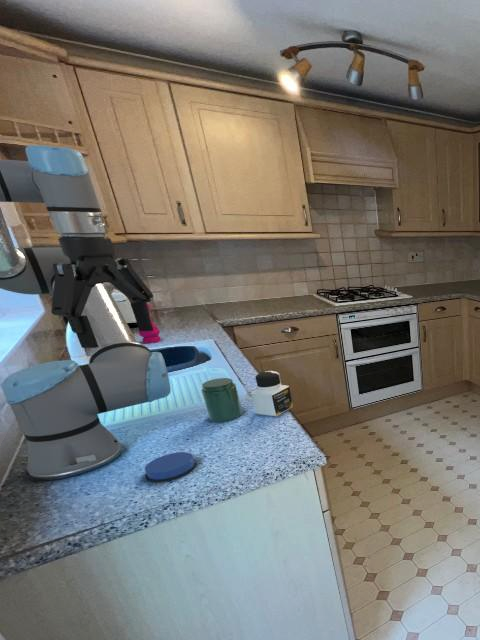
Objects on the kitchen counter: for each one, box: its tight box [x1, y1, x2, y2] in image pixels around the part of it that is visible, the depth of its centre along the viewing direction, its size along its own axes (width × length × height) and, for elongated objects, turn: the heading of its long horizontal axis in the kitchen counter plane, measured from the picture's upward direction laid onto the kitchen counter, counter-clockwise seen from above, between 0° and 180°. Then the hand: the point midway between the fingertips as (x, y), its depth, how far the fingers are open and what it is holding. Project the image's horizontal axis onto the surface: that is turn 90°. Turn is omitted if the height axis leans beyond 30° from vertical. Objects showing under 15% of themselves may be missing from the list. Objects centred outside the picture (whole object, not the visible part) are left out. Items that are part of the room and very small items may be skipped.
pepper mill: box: [134, 302, 162, 344], centre depth 182 cm, size 7×7×20 cm
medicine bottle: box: [250, 370, 294, 417], centre depth 119 cm, size 7×7×12 cm
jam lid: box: [144, 451, 196, 480], centre depth 91 cm, size 9×8×2 cm
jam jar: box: [201, 377, 244, 423], centre depth 116 cm, size 8×8×10 cm
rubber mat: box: [144, 461, 197, 484], centre depth 92 cm, size 9×9×1 cm
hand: (120, 338), depth 88 cm, fingers open, 13 cm apart
